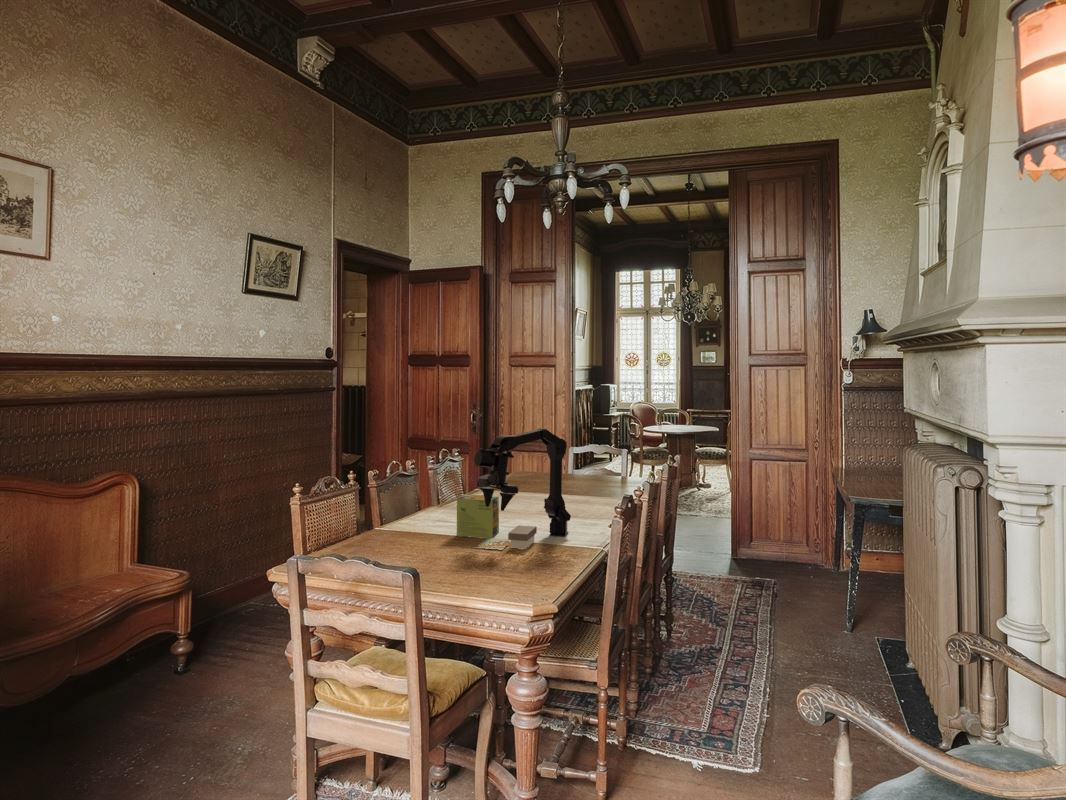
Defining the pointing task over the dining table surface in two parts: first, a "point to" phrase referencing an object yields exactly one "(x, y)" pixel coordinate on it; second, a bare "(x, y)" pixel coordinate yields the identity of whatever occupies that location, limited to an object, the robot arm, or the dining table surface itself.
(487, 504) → the robot arm
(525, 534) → the lid
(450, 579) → the dining table surface
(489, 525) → the protein box
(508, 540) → the mat
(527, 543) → the box
